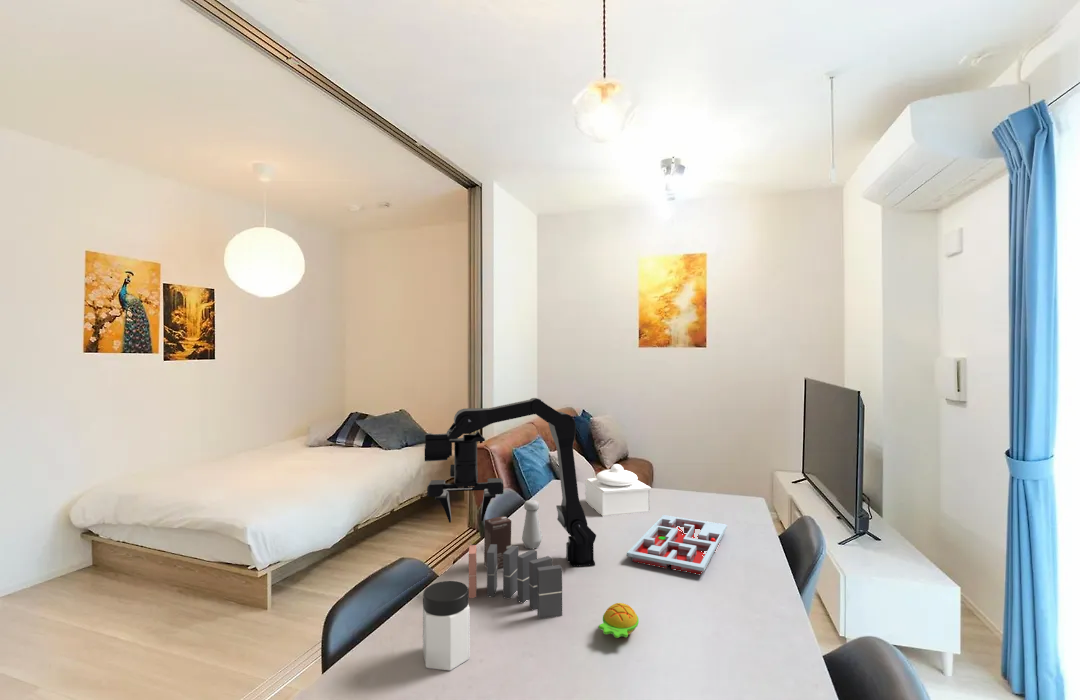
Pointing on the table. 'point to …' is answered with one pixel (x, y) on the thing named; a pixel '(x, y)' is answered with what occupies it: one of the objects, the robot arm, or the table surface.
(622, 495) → the butter dish
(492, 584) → the domino
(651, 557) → the maze game
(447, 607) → the jar
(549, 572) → the domino
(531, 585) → the domino
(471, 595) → the domino
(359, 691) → the table surface
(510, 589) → the domino
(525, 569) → the domino
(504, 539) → the box
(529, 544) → the salt shaker
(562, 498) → the robot arm
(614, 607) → the toy burger bun
